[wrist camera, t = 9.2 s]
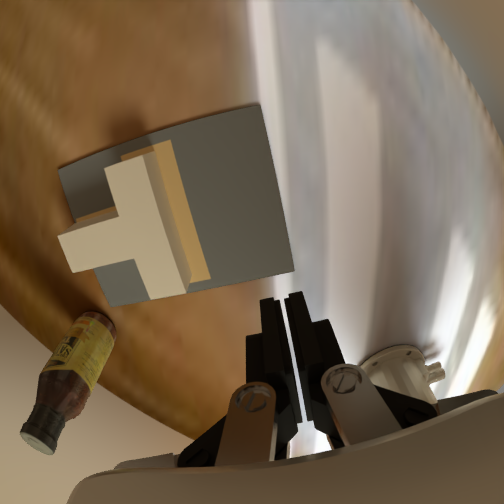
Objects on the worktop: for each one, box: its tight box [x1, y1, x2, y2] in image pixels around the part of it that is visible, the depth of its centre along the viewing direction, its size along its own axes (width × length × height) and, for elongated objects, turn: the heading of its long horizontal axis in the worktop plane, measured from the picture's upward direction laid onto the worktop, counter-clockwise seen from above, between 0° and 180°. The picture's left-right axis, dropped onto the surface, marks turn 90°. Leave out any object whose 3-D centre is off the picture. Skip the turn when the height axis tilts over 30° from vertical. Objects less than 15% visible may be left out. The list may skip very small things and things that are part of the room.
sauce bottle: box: [20, 311, 116, 455], centre depth 28 cm, size 7×6×20 cm
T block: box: [58, 151, 192, 300], centre depth 30 cm, size 12×14×4 cm
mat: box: [58, 105, 294, 307], centre depth 31 cm, size 23×18×1 cm
